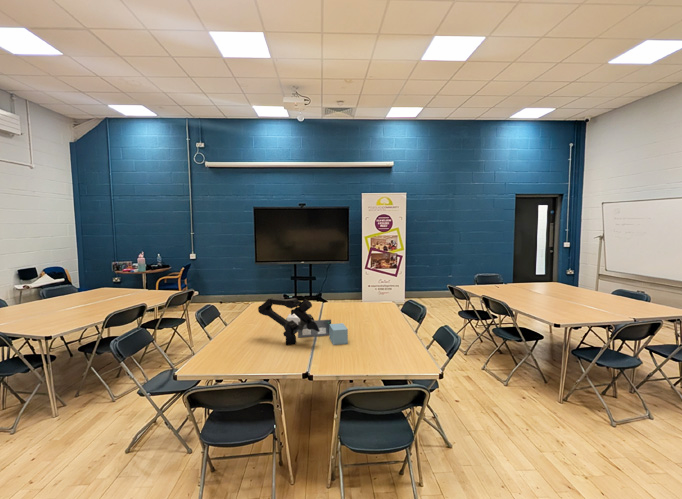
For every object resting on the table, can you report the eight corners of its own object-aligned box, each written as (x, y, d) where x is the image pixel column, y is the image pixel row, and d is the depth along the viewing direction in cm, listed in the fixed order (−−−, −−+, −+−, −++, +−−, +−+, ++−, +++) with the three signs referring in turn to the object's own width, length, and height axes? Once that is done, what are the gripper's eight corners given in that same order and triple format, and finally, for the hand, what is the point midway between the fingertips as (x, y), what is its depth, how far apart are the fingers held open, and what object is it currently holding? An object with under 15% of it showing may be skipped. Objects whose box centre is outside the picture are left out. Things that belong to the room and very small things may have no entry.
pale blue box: (333, 345, 209) (333, 330, 208) (329, 337, 222) (329, 324, 222) (347, 343, 211) (347, 329, 210) (343, 336, 224) (343, 323, 224)
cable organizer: (284, 332, 238) (284, 317, 237) (288, 327, 248) (288, 313, 247) (304, 332, 236) (304, 317, 235) (307, 328, 246) (307, 313, 246)
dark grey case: (300, 348, 204) (300, 330, 203) (297, 336, 228) (297, 320, 227) (345, 344, 210) (345, 327, 210) (337, 333, 234) (337, 317, 234)
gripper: (292, 319, 218) (308, 333, 221) (294, 327, 200) (311, 343, 203) (303, 307, 219) (319, 322, 222) (306, 314, 201) (323, 330, 204)
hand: (318, 329), depth 213 cm, fingers open, 9 cm apart
